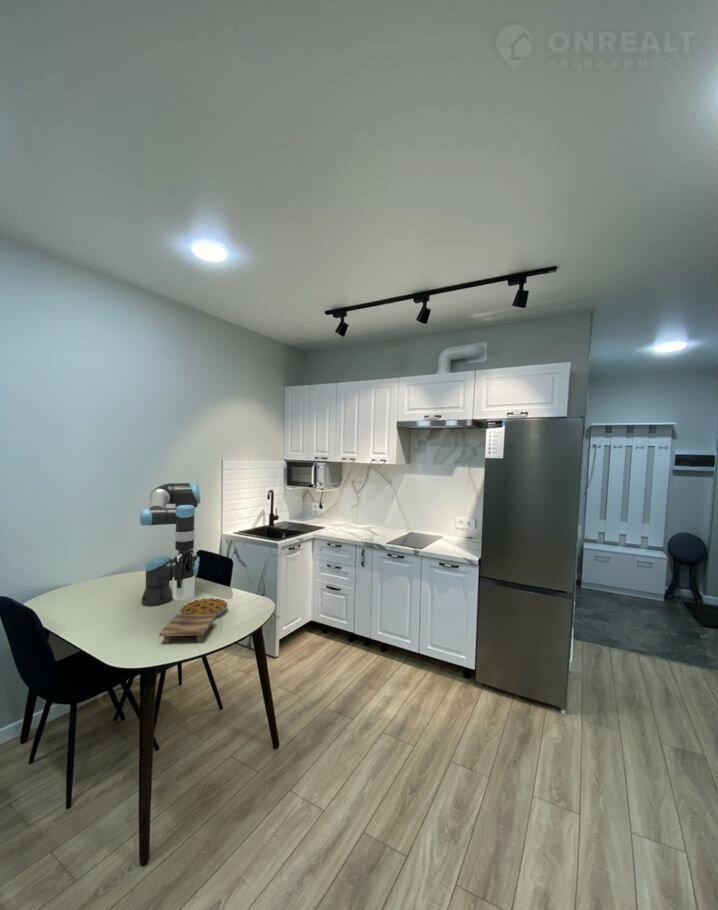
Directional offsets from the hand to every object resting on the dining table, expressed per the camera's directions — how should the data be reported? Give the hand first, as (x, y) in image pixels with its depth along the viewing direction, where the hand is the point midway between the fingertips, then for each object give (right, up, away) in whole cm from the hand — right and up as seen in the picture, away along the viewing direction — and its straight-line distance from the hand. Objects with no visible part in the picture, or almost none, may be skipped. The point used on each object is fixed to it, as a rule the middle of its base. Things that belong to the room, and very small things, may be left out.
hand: (183, 591), depth 164 cm
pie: (0, -20, +23) cm, 31 cm away
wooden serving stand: (+2, -19, +1) cm, 20 cm away
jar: (0, -3, 0) cm, 3 cm away
